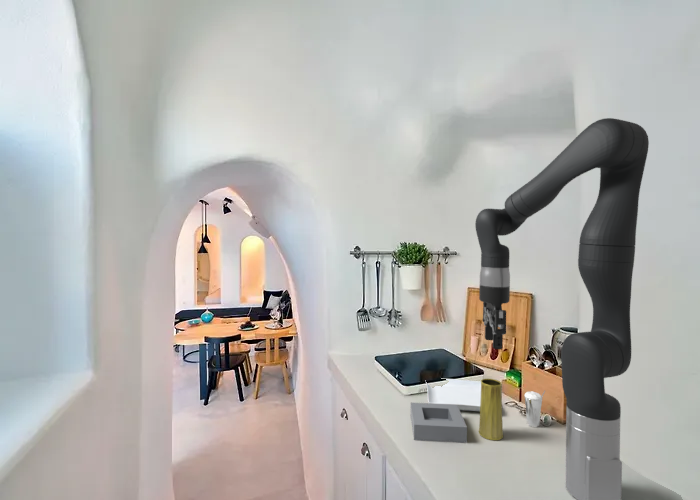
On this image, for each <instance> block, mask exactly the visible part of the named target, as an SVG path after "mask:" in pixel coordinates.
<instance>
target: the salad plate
mask: <svg viewBox="0 0 700 500" xmlns="http://www.w3.org/2000/svg"><path fill="white" fill-rule="evenodd" d="M441 379H444V378H441ZM445 379H446V380H449V382H448V383H447V384H445V385H443V386H442V387H441V386H435V387H434V388H432V387H430V386H429V385H428V384H427V382H426V381H425V384H426V390H427V403H433V404H455V405H457V406H458V408H459V410H460V411H467V412H479V413H480V402H481V380H470V379H469V380H468V379H455V378H445Z"/></svg>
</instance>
